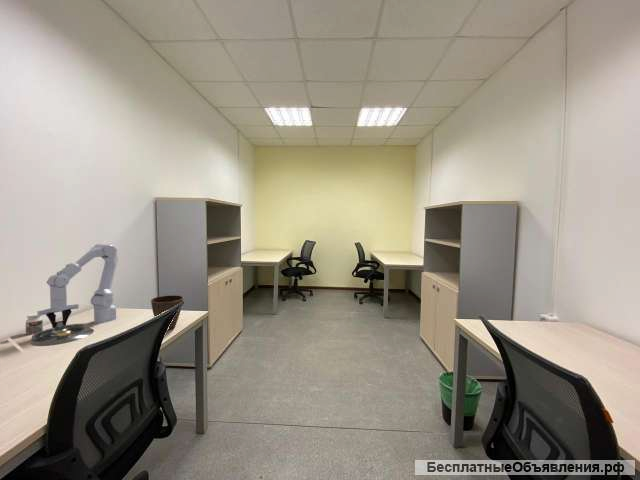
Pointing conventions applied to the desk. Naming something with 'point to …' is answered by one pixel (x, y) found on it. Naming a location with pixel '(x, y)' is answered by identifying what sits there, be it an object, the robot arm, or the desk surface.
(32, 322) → the pill bottle
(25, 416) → the desk surface
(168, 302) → the plant pot
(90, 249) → the robot arm
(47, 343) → the dark grey round tray
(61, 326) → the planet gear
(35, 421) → the desk surface
